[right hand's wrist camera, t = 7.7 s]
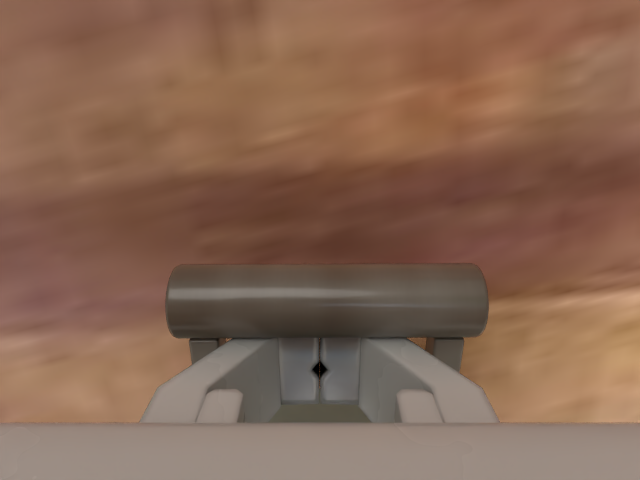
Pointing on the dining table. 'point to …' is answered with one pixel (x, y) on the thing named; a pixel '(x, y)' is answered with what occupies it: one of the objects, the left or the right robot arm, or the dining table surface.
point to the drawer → (327, 310)
